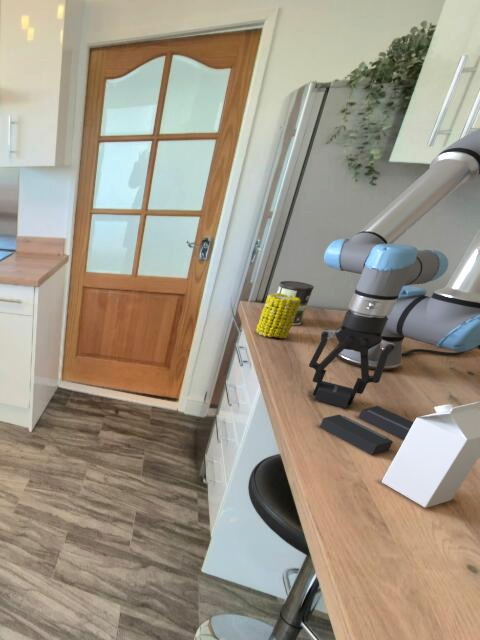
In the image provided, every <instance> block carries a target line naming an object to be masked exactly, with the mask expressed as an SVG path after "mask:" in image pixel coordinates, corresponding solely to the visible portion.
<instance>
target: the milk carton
mask: <svg viewBox="0 0 480 640" xmlns="http://www.w3.org/2000/svg"><path fill="white" fill-rule="evenodd" d="M479 406H480V401H475V402H470V403H467V404H463V405H457V406H453V404H451V403H450V404H442V405H437V406H434V411H435V412H433V413H430V414H425V415H421V416H417V417H416V418H415V419H414V421H413V422H414V423H413V425H412V427H411V428H410V430H409V432H408V434H407V436H406V438H405V440H403V441H402V443H401V445H400V447H399V449H398V450H397V453H396V454H395V456H394V458H393V460H392V462H391V464H390V465H389V467H388V469H387V471H386V472H385V475H384V476H383V478H382V480H381V483H382V484H384V485H385V486H387V487H389V488H391V489H392V490H394V491H395V492H398V493H399V494H401V495H402V496H404V497H406V498H407V499H409V500H411V501H413V502H414V503H416V504H417V505H419V506H421V507H422V508H425V509H426V508H430V507H434V506H437V505H439V504H440V505H441V504H443V503H446V502H450V501H452V500H453V499H454V497H455V495H456V494H457V492H458V491H459V489H460V487H462V485H463V483H464V481H465V480H466V478H467V477H468V476H469V474H470V472H471V470H472V469H473V468H474V466H475V464H477V462H478V460H479V458H480V408H479Z"/></svg>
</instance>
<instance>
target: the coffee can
mask: <svg viewBox="0 0 480 640" xmlns="http://www.w3.org/2000/svg"><path fill="white" fill-rule="evenodd" d="M277 288H278V289H277V292H276V293H277V294H278V293H281V294H283V295H284V294H286V295H287V296H289V295H291V296H293V297H297V298H300V300H301V302H300V305H299V306H298V310H297V311H296V312H297V313H296V315H295V318H294V322H292V323H293V324H292V325H291V326H299V325H301V324H302V320H303V318H304V315H305V312H306V309H307V306H308V303H309V300H310V299H311V295H312V292H313V290H314V288H315V286H314V285H312V284H310V283H307V282H301V281H293V280H283V281H280V282H279V284H278V287H277Z"/></svg>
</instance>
